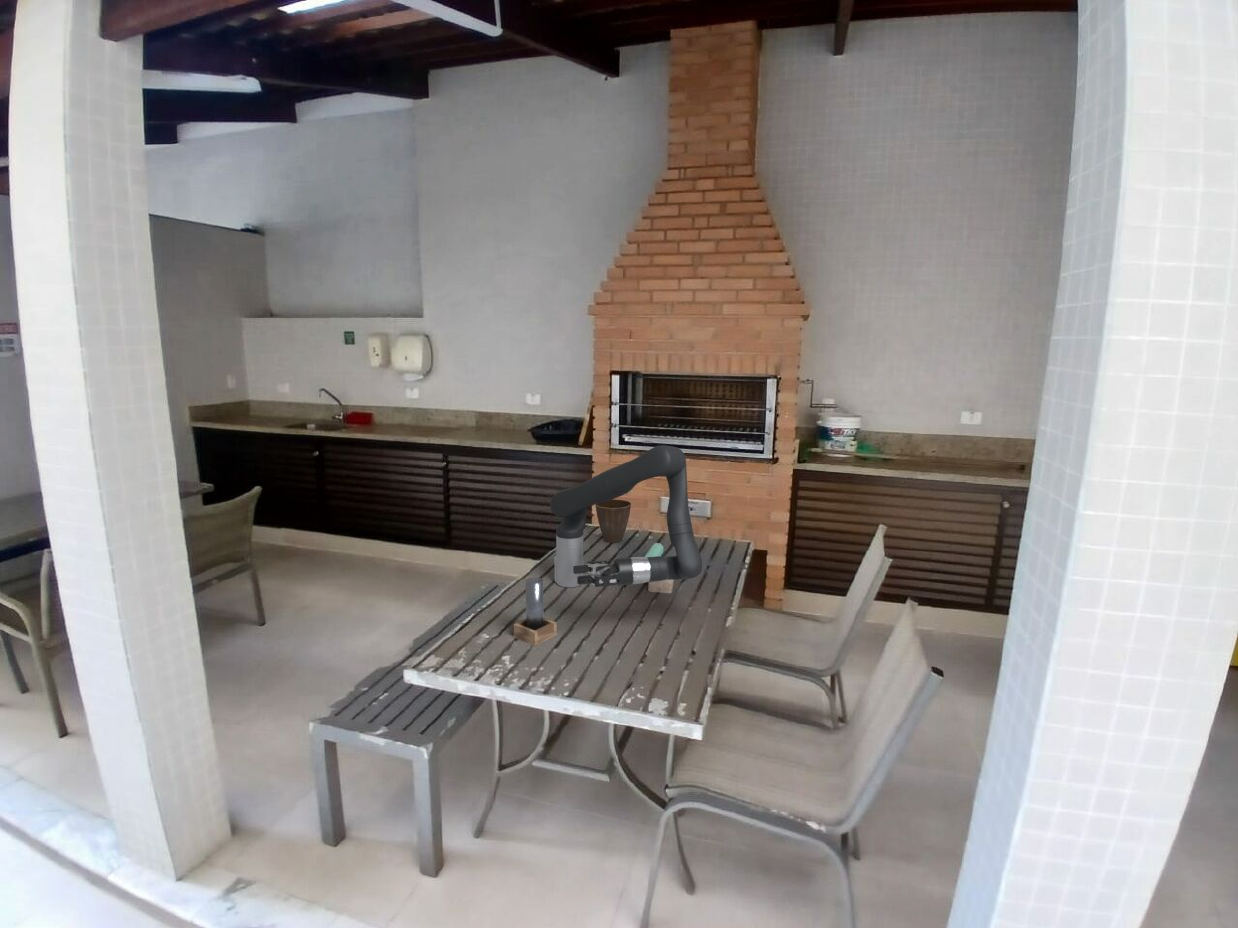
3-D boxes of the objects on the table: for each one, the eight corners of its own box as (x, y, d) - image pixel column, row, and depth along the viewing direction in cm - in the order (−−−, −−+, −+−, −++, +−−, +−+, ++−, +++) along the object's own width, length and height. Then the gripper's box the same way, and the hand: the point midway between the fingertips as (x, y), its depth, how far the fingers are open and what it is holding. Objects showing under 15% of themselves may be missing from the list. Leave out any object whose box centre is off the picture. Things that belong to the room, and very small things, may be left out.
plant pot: (591, 544, 260) (591, 507, 257) (599, 534, 275) (599, 498, 272) (627, 546, 258) (628, 508, 255) (632, 536, 272) (633, 500, 269)
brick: (672, 594, 210) (672, 580, 209) (647, 592, 211) (647, 579, 210) (675, 576, 226) (676, 564, 225) (652, 575, 227) (652, 562, 226)
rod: (523, 635, 176) (521, 581, 173) (535, 629, 180) (534, 576, 177) (535, 640, 174) (534, 585, 171) (547, 634, 177) (546, 580, 174)
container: (654, 537, 251) (641, 556, 227) (668, 544, 250) (655, 564, 226) (648, 550, 252) (634, 570, 228) (662, 557, 251) (649, 578, 227)
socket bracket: (512, 639, 176) (512, 624, 175) (535, 628, 183) (535, 613, 182) (534, 649, 171) (534, 633, 170) (558, 637, 178) (557, 622, 177)
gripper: (626, 550, 185) (571, 554, 182) (637, 566, 171) (578, 570, 168) (626, 574, 186) (572, 579, 183) (637, 592, 173) (579, 597, 169)
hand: (575, 575), depth 176 cm, fingers open, 8 cm apart
